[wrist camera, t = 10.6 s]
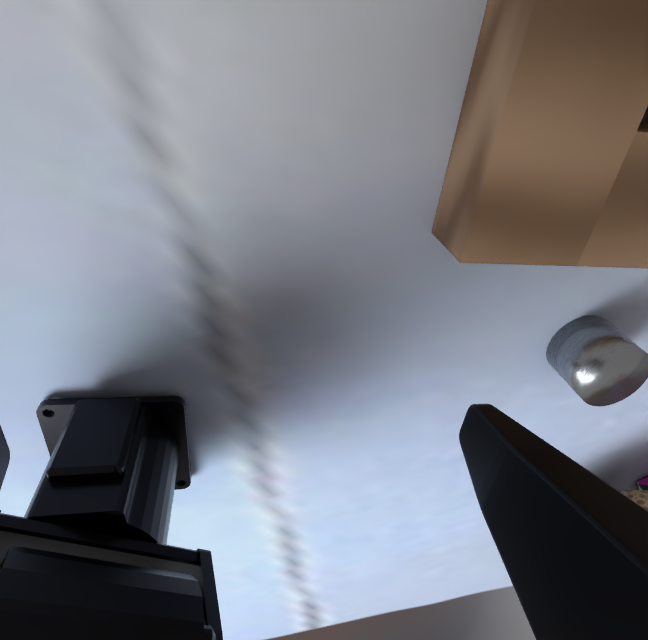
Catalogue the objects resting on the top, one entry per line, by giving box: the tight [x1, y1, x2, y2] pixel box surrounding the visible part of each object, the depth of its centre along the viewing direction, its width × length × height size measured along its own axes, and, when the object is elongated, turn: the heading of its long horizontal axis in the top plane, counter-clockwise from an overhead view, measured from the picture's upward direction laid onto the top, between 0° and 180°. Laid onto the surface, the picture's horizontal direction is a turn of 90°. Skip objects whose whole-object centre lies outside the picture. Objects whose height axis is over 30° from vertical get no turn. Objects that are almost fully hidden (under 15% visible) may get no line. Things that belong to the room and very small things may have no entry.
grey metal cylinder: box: [546, 316, 648, 406], centre depth 23 cm, size 4×4×3 cm
